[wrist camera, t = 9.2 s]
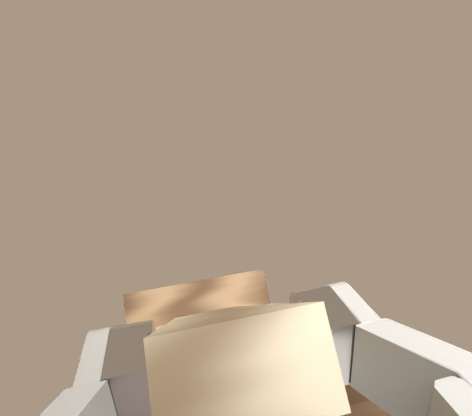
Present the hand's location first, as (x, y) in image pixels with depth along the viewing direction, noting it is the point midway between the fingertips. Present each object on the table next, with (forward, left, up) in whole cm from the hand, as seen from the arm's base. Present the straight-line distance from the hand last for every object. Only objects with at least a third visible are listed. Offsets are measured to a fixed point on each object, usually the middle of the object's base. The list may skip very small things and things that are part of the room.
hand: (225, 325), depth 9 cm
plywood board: (0, +11, -3) cm, 12 cm away
